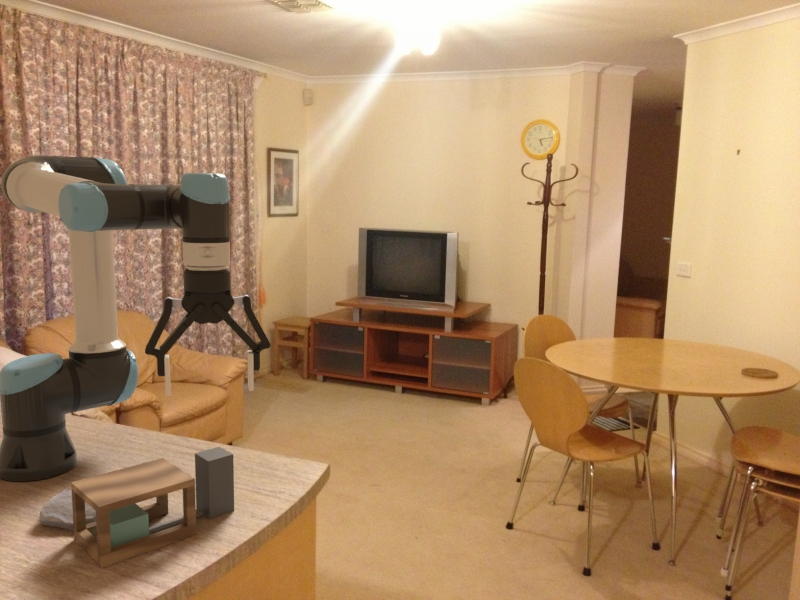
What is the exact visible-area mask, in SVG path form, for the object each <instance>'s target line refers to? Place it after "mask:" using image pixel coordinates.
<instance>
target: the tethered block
mask: <svg viewBox="0 0 800 600" xmlns="http://www.w3.org/2000/svg"><path fill="white" fill-rule="evenodd" d="M194 465H195V466H194V467H195V468H194V470H195V471H194V472H195V473H194V474H195V477H194V478H195V506H196V518H200V517H202V516H205V518H208V519H209V520H211V519H215V518H217V517H220V516H222V515H226V514H229V513H231V512H235V481H234V480H235V479H234V477H235V475H234V470H235V469H234V453H231V452H230V451H228V450H226V449H225V448H223V447H221V446H217V447H216V446H215V447H212V448H210V449H205V450H202V451H198V452H194ZM109 520H110V541H111V548H113V547H115V546H118V545H121V544H124V543H127V542H130V541H133V540H136V539H139V538H142V537H145V536H148V535H150V534H153V533H156V532H157V531H158V532H159V531H162V530H165V529H168V528H171V527H174V526H177V525H180V524H183V523H184V517H183V516H180V517H176V518H174V519H171V520H168V521H164V522H163V523H159V524H157V525H153V526H150V525H149V523H150V522H149V521H150V519H149V520H148V513H147V512H145V511H144V510H143V509H142V508H141V507H140V506H139V505H138V503H135V504H131V505H128V506H125V507H122V508H118V509H115V510H112V511H109Z"/></svg>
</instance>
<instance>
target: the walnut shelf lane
mask: <svg viewBox="0 0 800 600" xmlns="http://www.w3.org/2000/svg"><path fill="white" fill-rule="evenodd" d="M70 485H71V486H70V489H71V491H72V507H73V525H74V530H73V539H74V541H75V542H76V543H77V544H78V545H79V546H80V547H81V548H82V549H83V550H84V551H85V552H86V553H87V554H88V555H89V556H90V557H91V558H92V559H93V561H95V563H96V564H97V565H98V566H99V567H100V568H101V569H104V568H106V567H109V566H111V565H114V564H118V563H121V562H123V561H126V560H128V559H132V558H134V557H137V556H140V555H143V554H146V553H149V552H151V551H154V550H157V549H159V548H162V547H165V546H168V545H170V544H173V543H176V542H179V541H182V540H184V539H187V538H191V537H192V536H196V535H197V517H196V512H197V510H196V478H195V477H193V476H192V475H190V474H188V473H187V472H186V471H184V470H182V469H181V468H179V467H178V466H176V465H174V464H173V463H171V462H170V461H169V460H167V459H165V458H164V457H161V458H157V459H154V460H149V461H147V462H143V463H139V464H135V465H132V466H127V467H123V468H120V469H115V470H113V471H112V470H111V471H108V472H105V473H101V474H98V475H97V474H96V475H94V476H90V477H85V478H83V479H82V478H81V479H78V480H75V481H71V482H70ZM180 490H182V506H183V507H182V509H183V510H182V511H183V515H182V517H184V522H182V523H179V524H176V525H173V526H170V527H167V528H164V529H161V530H159V531H158V532H157V531H156V532H153V533H150V534H149V535H148V536H145V537H142V538H139V539H136V540H133V541H130V542H127V543H124V544H121V545H118V546H115V547H113V548H111V541H110V520H109V511H112V510H115V509H118V508H122V507H125V506H128V505H131V504H138V503H141V502H145V501H147V500H151V499H154V498H155V500H156V501H155V502H154V503H150V504H148V505H144V506H141V507H140V508H142V509H143V510H144V511H145V512H147V513H148V520H149V521H150V520H152V519H155V518H158V517H162V516H163V515H168V514H169V494H170V493H173V492H177V491H180ZM85 502H86V503H87V504H88V505H90V506H91V507H92V508H93V509H94V510H95V511H96V522H92V523H89V524H86V516H85Z"/></svg>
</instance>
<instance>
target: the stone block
mask: <svg viewBox="0 0 800 600" xmlns="http://www.w3.org/2000/svg"><path fill="white" fill-rule="evenodd" d="M85 516H86V524H89V523H92V522H96V511H95V510H94V509H93V508H92V507H91V506H90V505H88V504H87V503H86V502H85ZM38 521H39V523H40V524H41V525H44V526H47V527H54V528H61V529H65V530H72V531H74V525H73V507H72V490H70V489H63V490H60V492H59V493H57V494H55V495H54V496H52V497H51V498H50V499H49V500H47V501H46V502H45V503H44V505H43V506H42V507H41V509H40V510H39V520H38Z"/></svg>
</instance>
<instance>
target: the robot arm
mask: <svg viewBox="0 0 800 600" xmlns="http://www.w3.org/2000/svg"><path fill="white" fill-rule="evenodd" d="M0 184H1V190H2V194H3V196H4V197H5V199H6V200H7V202H8V203H10V205H12V206H13V207H15V208H17V209H19V210H21V211H24V212H27V213H35V214H37V213H39V214H40V213H41V214H43V213H44V214H50V215H52V216H56V217H58V218H59V222H60V223H61V224H62V225H63V226H64V227H65V228H66V229H67V230H68V238H69V253H70V254H69V255H70V271H71V273H70V274H71V284H72V286H71V287H72V301H73V315H74V316H73V318H74V330H75V331H74V333H75V334H74V335H75V340H74V342H73V343H72V344H71V345H70V346H69V347H68V358H62V357H63V356H62V355H60V354H59V353H55V352H45V353H37V354H31V355H26V356H23V357H19V358H17V359H14V360H11V361H10V362H8V363H7V364H5V365H4V366H2V368H1V369H0V412H1V414H0V415H1V425H2V439H1V444H0V479H1V480H4V481H9V482H33V481H37V480H38V481H39V480H45V479H48V478H52V477H56V476H59V475H61V474H64V473H67V472H68V471H70V470H72V469H73V468H74V467H75V466H76V465H77V463H78V458H77V450H76V448H75V445H74V444H73V441H72V439H71V437H70V434H69V432H68V430H67V425H66V415H67V414H71V413H76V412H82V411H87V410H91V409H96V408H101V407H111V406H113V405H115V404H119V403H123V402H126V401H127V400H129V399H130V398H131V397H132V396H133V394H135V391H136V389H137V386H138V381H139V366H138V362H137V358H136V356H135V354H134V353H133V351H131V350H129V349H127V343H126V342H124V341H123V340H122V339H121V338H120V337H119V327H118V325H119V324H118V308H117V306H118V305H117V291H116V290H117V289H116V288H117V287H116V286H117V285H116V273H115V272H116V270H115V269H116V268H115V256H114V255H115V254H114V235H113V231H124V230H125V231H127V230H129V231H130V230H131V231H134V230H137V231H139V230H168V229H169V230H174V229H175V230H181V232H182V264H183V266H185V267H186V268H185V269H184V270H183V296H182V298H175V297H174V298H173V297H172V296H166V297H165V298H164V306H163V310H162V313H161V315H160V316H159V319H158V321H157V323H156V325H155V327H154V328H153V329H154V330H153V331H152V333H151V334H150V337H149V340H148V342H147V343H146V345H145V348H144V353H145V354H146V355H148V356H153V357H155V358H156V364H157V365H156V366H157V371H156V372H157V375H158V377H164V387H165V388H164V389H165V390H164V391H165V397H166V398H168V397H170V398H171V397H172V395H171V365H170V364H171V363H170V354H167V353H168V352H169V351H170V350H171V348H173V346H174V345H175V344H176V343H177V342H178V340H179V339H180V338H181V337H182V336H183V334H184V333H185V332H186V331H187V330H188V328H190V326H191V325H192V324H193V323H194V322H195V323H196V324H198V325H204V324H208V323H209V324H219V323H221V322H222V321H224V322H225V323H226V324H227V325H228V326H229V327H230V328H231V329H232V330H233V332H235V334H236V335H237V336H238V337H239V338H240V339H241V340H242V341H243V342H244V343H245V345H247V346H248V347H249V348H250V349H251V350H250V349H249V350H247V355H246V358H247V362H246V363H247V387H248V391H249V392H253V391H254V390H255V379H254V377H255V376H254V375H255V374H254V371H255V372H256V371H260V368H261V352H262V351H264V350H267V349H268V350H269V349H270V348H271V346H272V345H271V342H270V340H269V338H268V336H267V335H266V334H265V332H264V329H263V328H262V325H261V324H260V322H259V320H258V319H257V316H256V315H255V313H254V311H253V309H252V303H251V298H250V297H249V295H248V294H246V293H245V294H243V295H240V296H234V297H233V296H232V291H231V290H232V287H231V286H232V284H231V283H232V282H231V280H232V279H231V274H232V273H231V270H230V268H228V266H230V265H231V243H230V236H231V235H230V234H231V232H230V230H231V229H230V226H231V225H230V223H231V222H230V219H231V218H230V213H231V212H230V209H231V207H230V202H231V196H230V195H229V192H230V191H229V181H228V177H227V176H226V175H225V174H223V173H213V172H210V173H209V172H185V173H183V174H182V176H181V177H180V184H172V183H170V184H167V183H164V184H143V183H142V184H136V183H135V184H133V183H130V184H129V183H128V181H127V178H126V175H125V172H124V171H123V170H122V169H121V166H120V165H119V164H118V163H116V162H115V160H114V161H113V160H111V159H108V158H101V157H94V156H90V157H88V156H61V155H59V156H58V155H45V154H44V155H42V154H40V155H30V156H26V157H23V158H21V159H17V160H16V161H14V162H13V163H11V164H10V165H9V166H8V167H7V168H6V169H5V170H4V172H3V174H2V176H1V183H0ZM234 305H237V306H238V308H239V309H241V310H243V311H244V313H245V315H246V317H247V319H248V320H249V323H250V324H251V326H252V328H253V330H254V332H255V334H256V336H257V337H258V338H259V340H260V341H257V342H256V341H255V339H254V338H253V337H252V336H251V335H250V334H249V333H248V332H247V331H246V330H245V329H244V328H243V327H242V326H241V325H240V324H239V323H238V321H237V320H236V319H235V318H234V317H233V316H232V315H231V314H230V311H231V310H232V309H233V307H234ZM178 307H182V309H183V310H184V311H185V312H186V315H184V317H183V318H182V320H181V321H180V322H179V323H178V324H177V326H176V327H175V328H174V329H173V330H172V332H171V333H169V335H168V336H167V338H166V339H165V340H164V341H163V343H161V345H160V346H159V347H158V346H157V345H158V342H159V340H160V338H161V336H162V334H163V331H164V330H165V328H166V325H167V324H168V322H169V320H170V318H171V316H172V312H176V311H177V309H178Z"/></svg>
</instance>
